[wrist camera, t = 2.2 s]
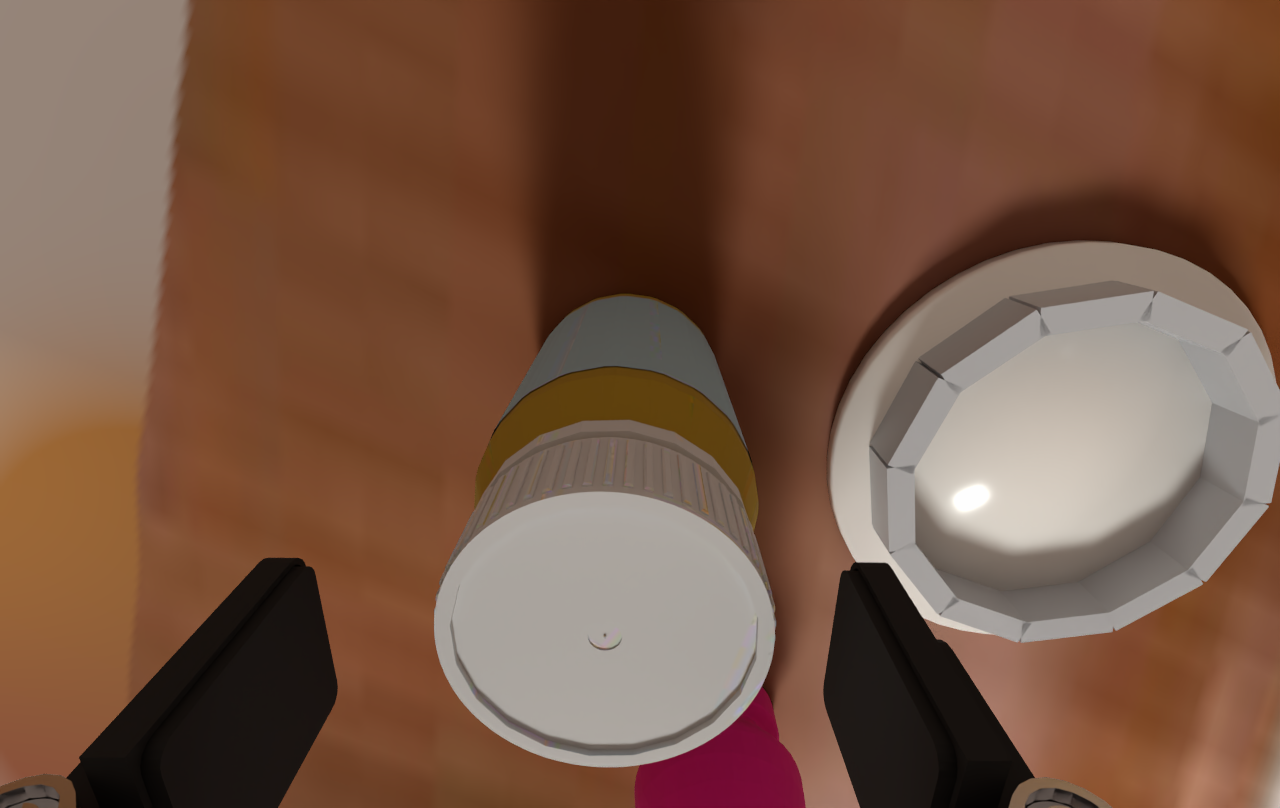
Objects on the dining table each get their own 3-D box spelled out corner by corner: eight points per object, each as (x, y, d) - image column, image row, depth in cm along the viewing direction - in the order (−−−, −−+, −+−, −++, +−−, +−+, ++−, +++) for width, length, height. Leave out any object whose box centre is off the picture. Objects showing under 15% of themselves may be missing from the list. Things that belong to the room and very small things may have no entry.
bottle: (595, 483, 27) (541, 828, 13) (506, 343, 25) (325, 573, 11) (744, 411, 26) (862, 705, 12) (664, 256, 24) (690, 391, 10)
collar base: (1315, 479, 27) (1394, 516, 24) (953, 678, 31) (985, 730, 28) (1144, 137, 22) (1217, 133, 19) (745, 422, 26) (757, 454, 23)
